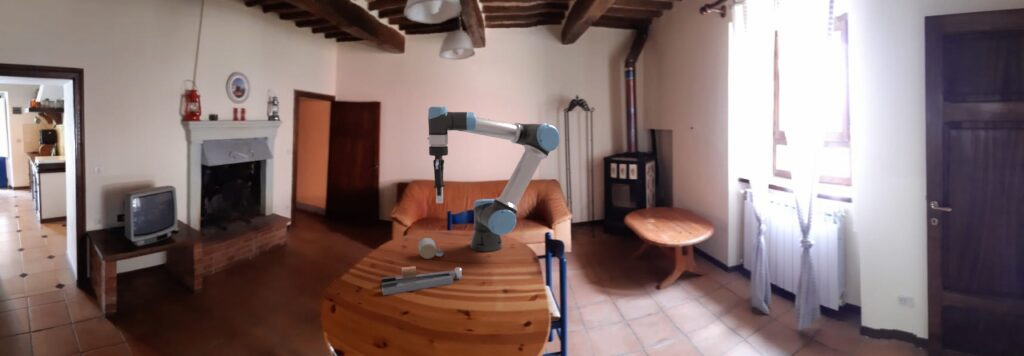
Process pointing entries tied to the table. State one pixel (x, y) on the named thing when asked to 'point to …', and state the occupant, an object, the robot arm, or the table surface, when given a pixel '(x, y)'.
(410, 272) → the tong arm
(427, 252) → the ceramic mug
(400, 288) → the tong fixed arm
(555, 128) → the robot arm
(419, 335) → the table surface
